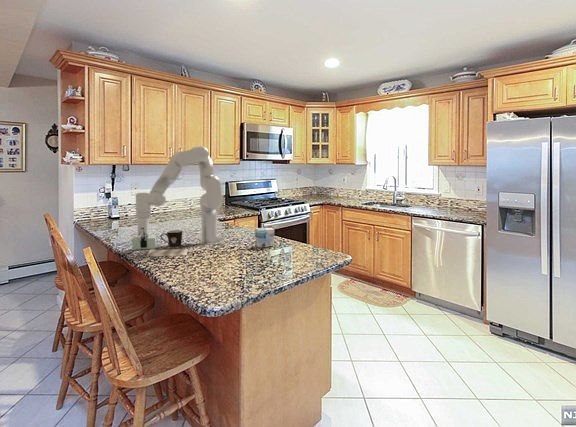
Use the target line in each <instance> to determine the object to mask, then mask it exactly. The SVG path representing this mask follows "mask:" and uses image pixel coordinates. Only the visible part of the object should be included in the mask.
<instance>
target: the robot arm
mask: <svg viewBox="0 0 576 427" xmlns="http://www.w3.org/2000/svg"><path fill="white" fill-rule="evenodd" d="M209 154H210V152H209V150H208V149H207V148H206V146H201V145H200V146H194V147H191V148H190V149H188V150H187V149H186V150H183V151H182V150H181V151H176V152H174V153H173V154H172V155H171V157H170V159H169V161H168V162H167V165H166V166H165V168H164V170H163V172H161V174H160V175H159V177H158V178H157V179H156V181H155V182H154V184H153V186H152V187H151V190H150V191H149V192H138V193H136V194H135V210H136V211H135V213H136V218H137V236H140V237H141V241H140V243H141V248H146V247H147V240H146V238H147V237H148V235H149V233H150V218H151V217H152V214H151V213H152V211H151V210H152V209H151V206H162V205H163V204H165V203H166V196H165V195H164V194H165V193H166V191H167V190H168V189H169V187H170V186H171V185H173V184H175V182H176V181H177V180H178V178H179V176H180V175H181V173H182V170H183V169H184V167H188V166H192V165H195V164H197V165H198V168H199V176H200V177H199V178H200V179H199V180H200V181H199V182H200V187H201V188H202V189H203V190H204V191H205V193H204V194H202V195H201V197H200V199H199V205H200V216H201V218H200V220H201V222H200V223H201V224H200V225H201V229H200V230H201V240H200V241H198V244H199V245H204V244H212V245H213V246H215V245H219V244H220V243H221V242H220V241H225V240H226V239H225V236H224V237H223V236H218V212H217V210H218V209H219V208H220V209H221V207H222V205H223V193H222V192H223V189H222V182H221V179H220V178H219V177H218V176H215V168H214V163H213V160H212V158H211V157H210V155H209Z"/></svg>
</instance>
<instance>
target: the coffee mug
mask: <svg viewBox="0 0 576 427" xmlns="http://www.w3.org/2000/svg"><path fill="white" fill-rule="evenodd" d="M163 235H166V237H167V240H165V239H164V238H163V237H162V236H163ZM160 238H161V240H162V241H163V242H165V243H167V244H168V246H169V247H170V248H175V247H181V246H182V240H183V230H180V229H171V230H167V231H166V233H161V234H160Z"/></svg>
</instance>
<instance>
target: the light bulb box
mask: <svg viewBox="0 0 576 427" xmlns="http://www.w3.org/2000/svg"><path fill="white" fill-rule="evenodd" d="M254 230H255V231H254V236H255V238H254V245H256V247H257V248H269V246H275V229H274V228H273V227H257V228H254Z"/></svg>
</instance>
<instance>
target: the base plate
mask: <svg viewBox="0 0 576 427" xmlns="http://www.w3.org/2000/svg"><path fill="white" fill-rule="evenodd" d="M187 254H188V248H180V249H179V248H178V249H177V248H175V249H150V250H149V251H148V252H147V254H146V257H168V256H170V257H171V256H187Z"/></svg>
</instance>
